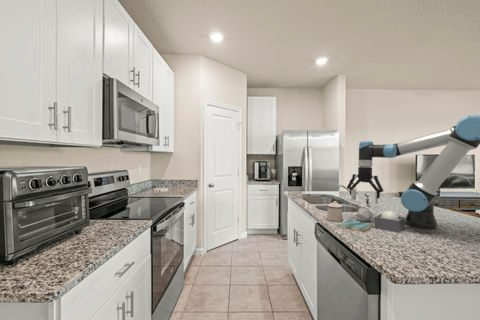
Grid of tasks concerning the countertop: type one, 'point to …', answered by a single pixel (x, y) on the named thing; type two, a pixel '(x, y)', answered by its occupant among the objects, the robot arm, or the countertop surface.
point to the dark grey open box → (389, 224)
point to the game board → (355, 225)
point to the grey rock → (364, 214)
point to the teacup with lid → (334, 212)
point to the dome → (390, 215)
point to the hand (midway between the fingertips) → (364, 201)
